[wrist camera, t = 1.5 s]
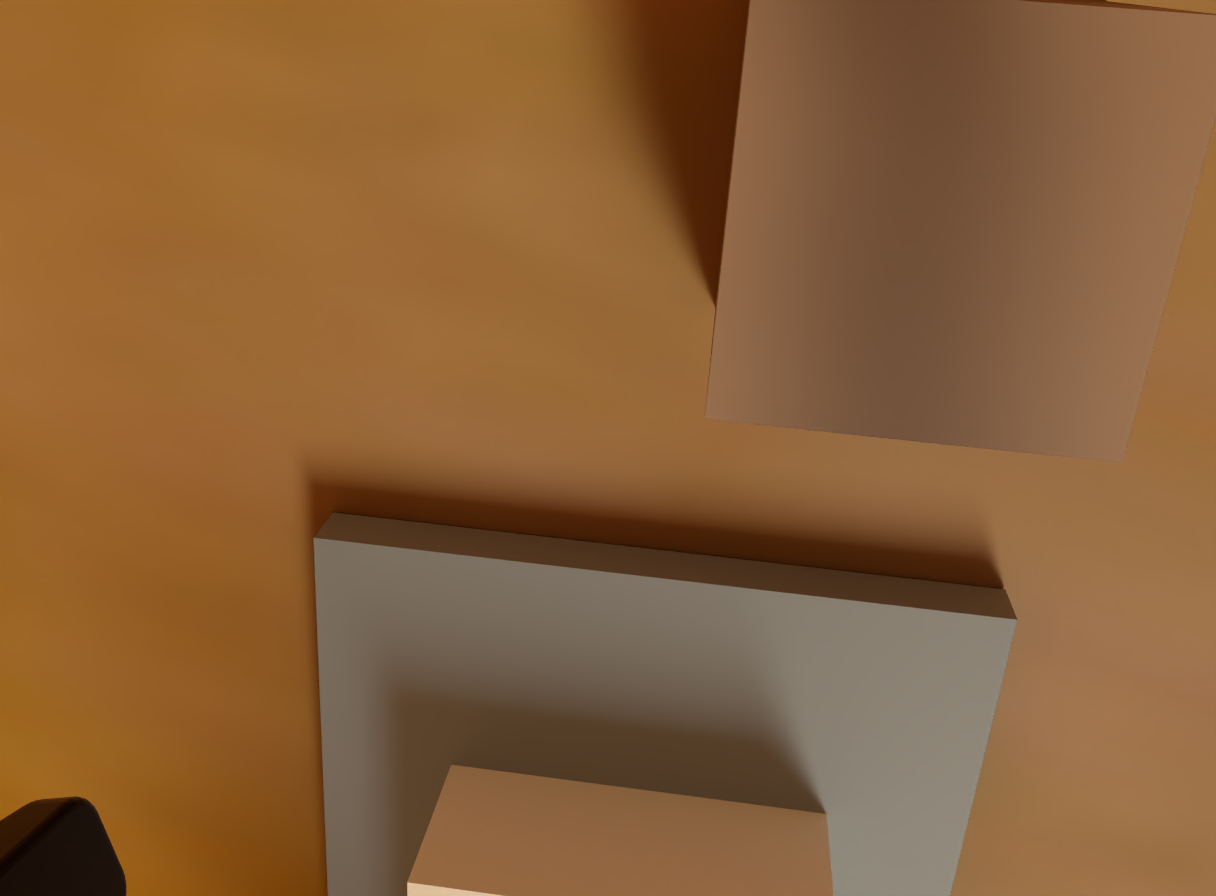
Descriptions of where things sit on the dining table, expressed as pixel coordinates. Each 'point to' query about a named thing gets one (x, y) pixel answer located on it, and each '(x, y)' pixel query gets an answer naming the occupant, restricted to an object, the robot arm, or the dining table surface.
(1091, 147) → the walnut block
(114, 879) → the robot arm
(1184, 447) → the dining table surface
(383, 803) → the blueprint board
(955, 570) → the dining table surface
